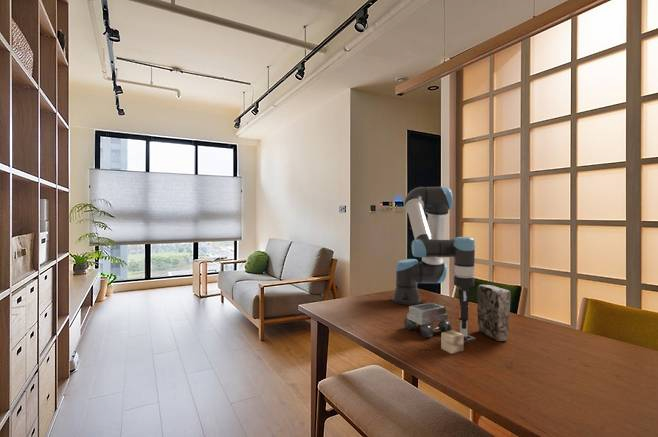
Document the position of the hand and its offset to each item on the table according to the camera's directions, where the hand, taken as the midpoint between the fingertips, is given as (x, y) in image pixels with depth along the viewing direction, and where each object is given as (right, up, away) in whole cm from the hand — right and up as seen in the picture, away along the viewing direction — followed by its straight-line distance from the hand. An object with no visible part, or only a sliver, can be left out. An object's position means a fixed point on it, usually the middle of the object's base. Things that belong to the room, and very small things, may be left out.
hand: (463, 334), depth 136 cm
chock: (-8, -2, -10) cm, 13 cm away
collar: (0, -2, 0) cm, 2 cm away
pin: (0, -2, 0) cm, 2 cm away
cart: (-12, -2, +8) cm, 15 cm away
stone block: (+13, -2, +3) cm, 13 cm away
